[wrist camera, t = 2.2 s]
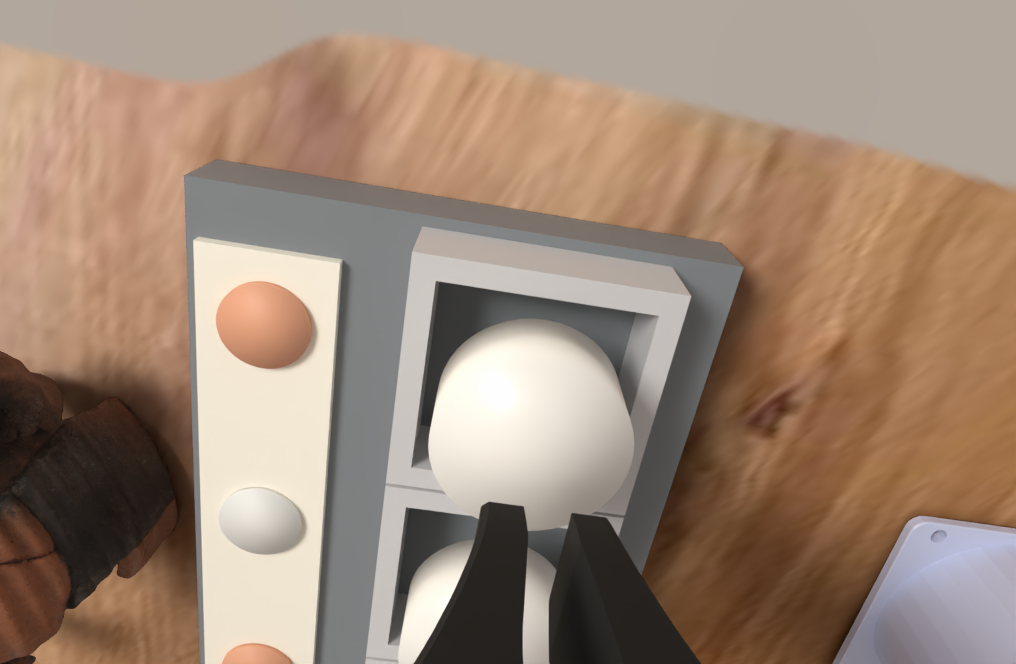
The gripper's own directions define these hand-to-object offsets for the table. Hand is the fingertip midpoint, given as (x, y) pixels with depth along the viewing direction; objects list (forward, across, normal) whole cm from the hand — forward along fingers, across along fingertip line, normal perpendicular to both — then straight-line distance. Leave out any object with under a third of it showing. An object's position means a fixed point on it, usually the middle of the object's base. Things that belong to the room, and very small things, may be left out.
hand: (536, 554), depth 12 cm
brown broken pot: (+10, +15, +7) cm, 19 cm away
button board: (+9, +2, +6) cm, 12 cm away
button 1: (+5, 0, 0) cm, 5 cm away
